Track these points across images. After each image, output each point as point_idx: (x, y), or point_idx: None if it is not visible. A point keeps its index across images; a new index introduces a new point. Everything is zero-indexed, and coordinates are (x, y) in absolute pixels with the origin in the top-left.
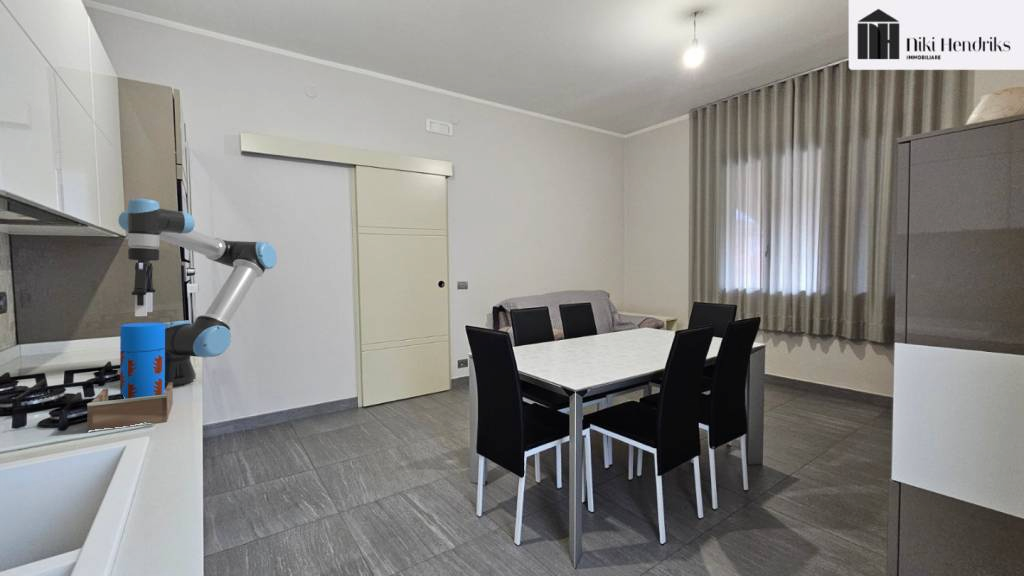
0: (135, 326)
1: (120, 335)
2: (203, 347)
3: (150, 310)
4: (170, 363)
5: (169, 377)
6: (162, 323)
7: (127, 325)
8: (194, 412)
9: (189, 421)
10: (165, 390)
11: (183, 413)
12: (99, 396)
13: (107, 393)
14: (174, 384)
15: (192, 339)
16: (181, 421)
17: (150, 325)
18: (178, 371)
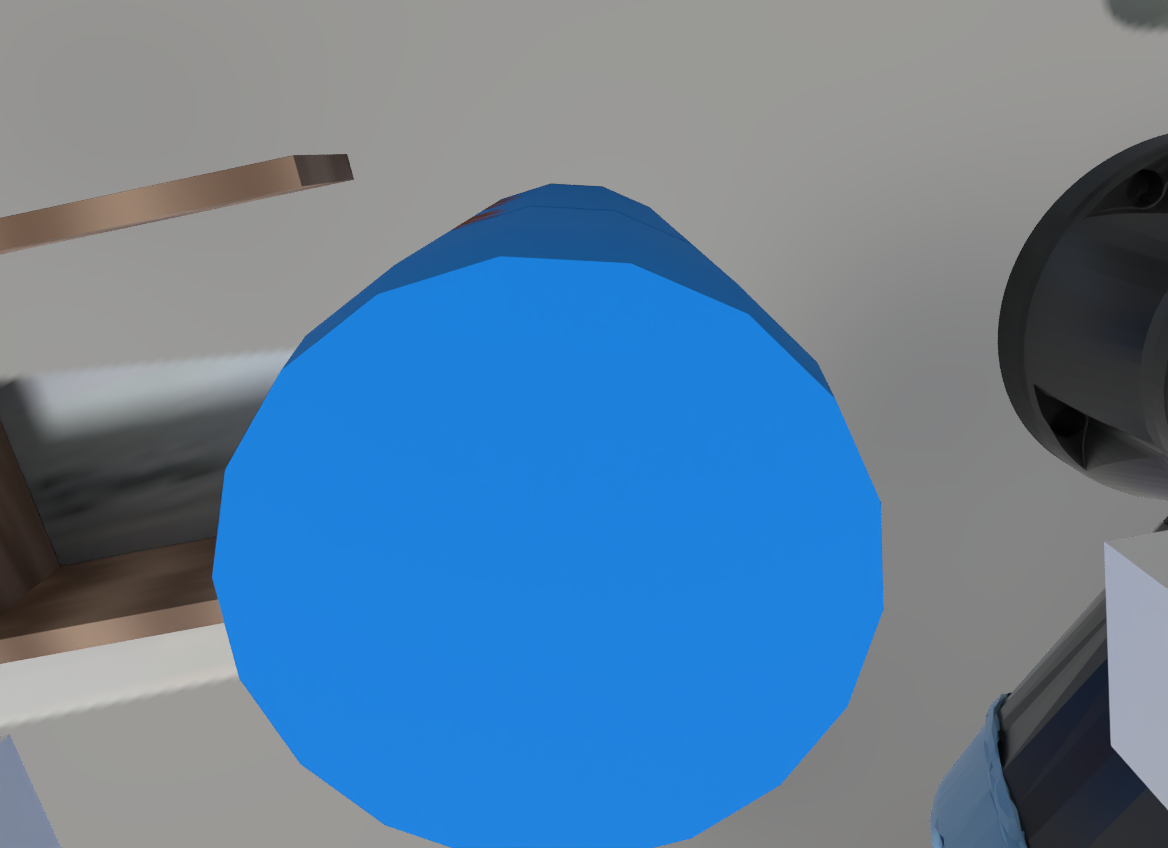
0: (240, 569)
1: (408, 257)
2: (931, 836)
3: (1130, 744)
4: (1156, 399)
5: (1043, 368)
6: (699, 816)
7: (429, 382)
8: (214, 677)
9: (40, 692)
10: (149, 612)
11: (206, 627)
12: (30, 233)
13: (282, 191)
14: (1007, 387)
15: (1055, 798)
16: (47, 656)
17: (385, 739)
18: (1115, 430)
